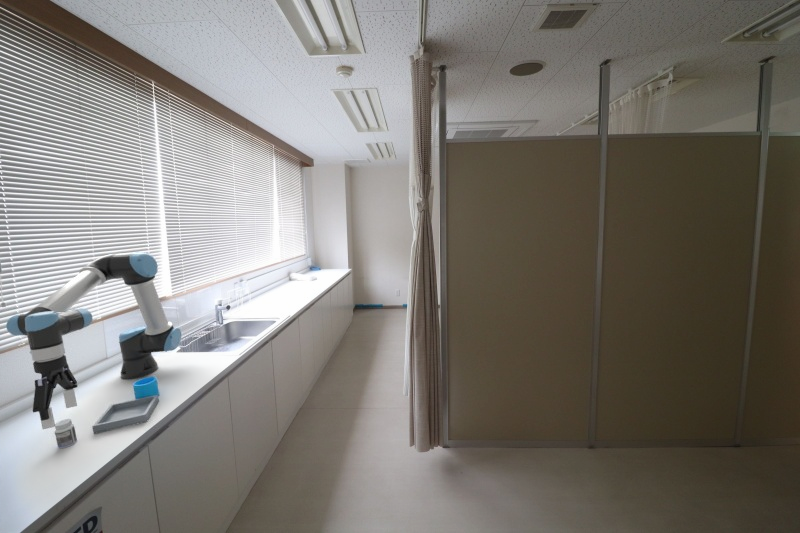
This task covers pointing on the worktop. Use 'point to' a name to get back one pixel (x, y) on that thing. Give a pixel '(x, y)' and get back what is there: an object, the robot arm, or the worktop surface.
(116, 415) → the tray
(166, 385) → the worktop surface
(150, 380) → the mug
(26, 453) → the worktop surface
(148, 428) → the worktop surface
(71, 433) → the pill bottle
